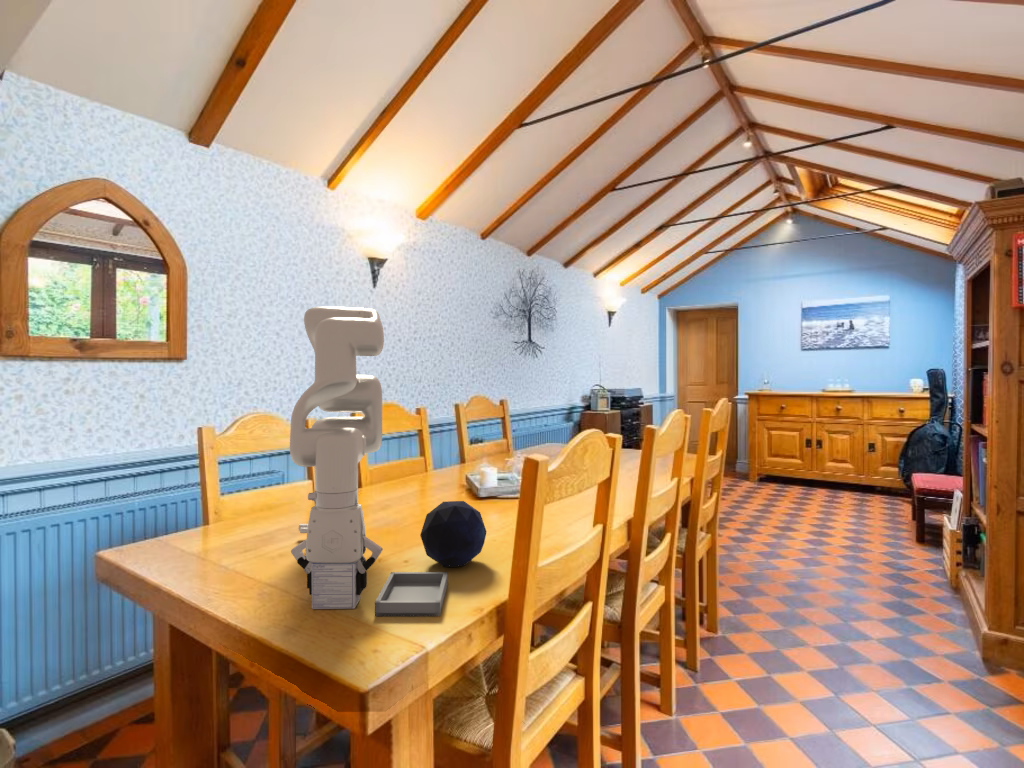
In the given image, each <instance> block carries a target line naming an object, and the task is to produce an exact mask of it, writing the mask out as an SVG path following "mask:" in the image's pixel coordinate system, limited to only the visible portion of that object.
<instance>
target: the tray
mask: <svg viewBox="0 0 1024 768" xmlns="http://www.w3.org/2000/svg"><path fill="white" fill-rule="evenodd" d="M448 579H449V572H448V571H396V572H395V571H391V572H390V573H389V574H388V577H387V579H386V581H385V582H384V584H383V586H382V588H381V590H380V591H379V594H378V595H377V597H376V599H375V601H374V617H441V614H442V608H443V606H444V602H445V597H446V593H447V588H448V585H449V584H448V583H449V580H448Z"/></svg>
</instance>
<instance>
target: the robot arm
mask: <svg viewBox="0 0 1024 768" xmlns="http://www.w3.org/2000/svg"><path fill="white" fill-rule="evenodd" d="M303 322H304V323H303V324H304V329H305V333H306V335H307V337H308V340H309V342H310V344H311V346H312V349H313V351H314V382H313V383H312V384H311V385H309V387H308V388H307V389H305V391H304V392H303V393H302V395H300V397H299V398H298V400H297V401H296V403H295V405H294V406H293V409H292V413H291V417H290V431H289V433H290V434H289V435H290V436H289V454H290V458H291V461H292V462H293V464H295V465H296V466H298V467H303V468H304V467H305V468H307V467H309V468H311V467H314V468H313V469H314V491H313V492H309V493H308V495H307V499H308V500H309V501H312V502H313V503H314V506H312V507H311V508H310V510H309V511H310V512H309V516H308V522H307V523H299V524H298V532H299V533H300V534H306V539H305V540H302V542H300V543H299V544H297V545H295V546H294V547H292V548H291V550H290V553H291V555H292V556H293V557H294V559H295V560H296V562H297V564H298V565H299V566H300V567H301V568H302V569H303V571H304V573H305V574H306V589H308V591H309V592H308V595H309V596H312V566H311V565H312V563H355V562H356V568H357V569H358V573H357V574H356V594H357V595H360V596H361V595H362V593H363V591H364V590H365V589H366V588H367V584H368V582H367V581H368V578H367V577H368V575H367V574H368V573H367V572H368V569H370V568H371V567H372V566H373V565H374V564H375V562H376V561H377V559H378V558H379V556H380V555H381V554H382V552H383V547H381V546H380V545H379V544H378V543H376V542H374V541H373V540H371V539H370V538H369V537H367V536H366V534H367V533H366V525H365V518H364V517H365V516H364V512H363V507H362V504H360V503H359V463H360V462H361V460H363V458H364V456H366V454H372V453H376V452H378V451H379V450H380V448H381V446H382V443H383V389H382V388H383V387H382V385H381V381H380V380H379V378H377V376H374V375H368V374H357V356H358V357H377V356H379V355H381V353H382V351H383V349H384V345H385V344H384V343H385V333H384V327H383V324H382V321H381V316H380V314H379V312H378V311H377V310H376V309H373V308H366V307H365V308H364V307H349V306H348V307H346V306H315V307H314V306H313V307H310V308H308V309H307V310H306V311H305V313H304V314H303ZM318 407H319V409H320V410H321V411H323V412H326V413H362V414H363V415H364V416H327V417H323V418H320V419H318V420H316V421H315V422H313V424H312V425H311V427H307V428H306V421H307V418H308V417H309V416H308V415H310V413H311V412H312V411H314V410H315V409H316V408H318ZM303 550H305V555H304V552H303ZM367 550H369V551H371V555H370V556H369V557H368V558H367V559H366V557H365V556H364V554H365V553H366V551H367Z"/></svg>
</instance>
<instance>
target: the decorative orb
mask: <svg viewBox="0 0 1024 768" xmlns="http://www.w3.org/2000/svg"><path fill="white" fill-rule="evenodd" d="M486 537H487V529H486V526H485V523H484V519H483V518H482V514H481V512H480V511H479V510H477V509H476V508H474V507H473V506H472V505H470V504H468V503H467V502H466V501H464V500H455V501H454V500H452V501H442V502H441V503H440V504H438V505H436V507H435V508H433V509H432V510H431V511H429V512H428V513H427V514H426V515H425V519H424V522H423V525H422V528H421V531H420V539H421V541H422V545H423V548H424V552H425V554H426V556H427V557H429V558H430V559H432V560H433V561H435V562H436V563H438V564H439V565H440V566H442V567H443V568H447V567H448V568H449V567H450V568H454V567H464V566H466V565H467V564H468V563H470V562H471V561H472V560H473V559H474V558H476V557H477V556H478V555H480V553H481V552H482V550H483V547H484V544H485V541H486Z"/></svg>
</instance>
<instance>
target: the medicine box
mask: <svg viewBox="0 0 1024 768" xmlns="http://www.w3.org/2000/svg"><path fill="white" fill-rule="evenodd" d="M311 566H312V595H311V609H312V610H333V609H334V610H335V609H340V610H343V609H348V610H349V609H353V610H355V608H356V606H357V605H358V603H359V601H360V600H361V594H360V595H357V594H356V574H357V573H358V569H357V568H356V562H355V563H312V565H311Z"/></svg>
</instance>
